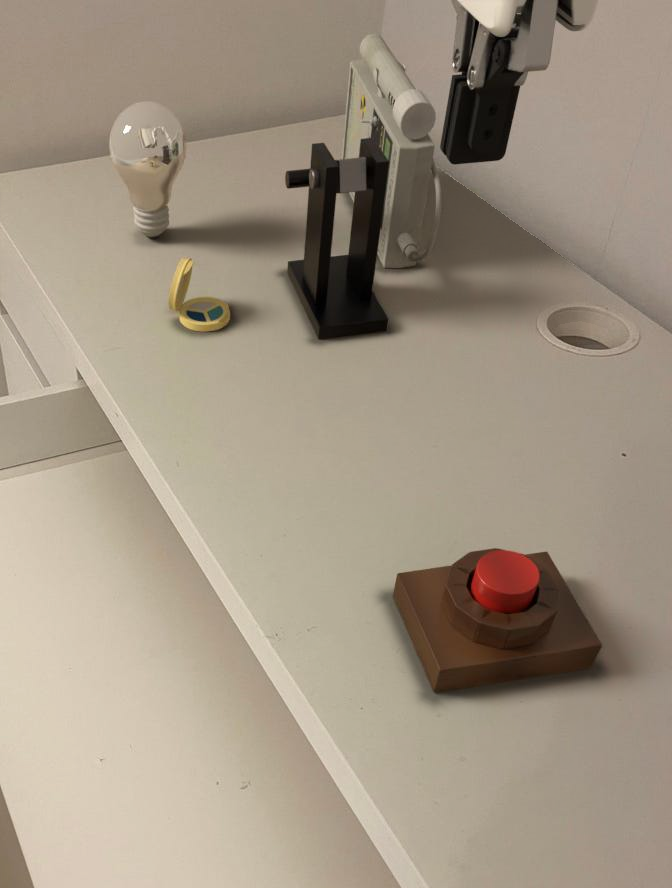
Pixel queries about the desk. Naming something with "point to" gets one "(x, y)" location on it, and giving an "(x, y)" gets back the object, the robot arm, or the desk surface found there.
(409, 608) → the button block
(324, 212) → the bracket
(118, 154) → the light bulb
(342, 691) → the desk surface
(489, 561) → the button
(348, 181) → the lever
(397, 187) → the geiger counter
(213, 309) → the eyeshadow
